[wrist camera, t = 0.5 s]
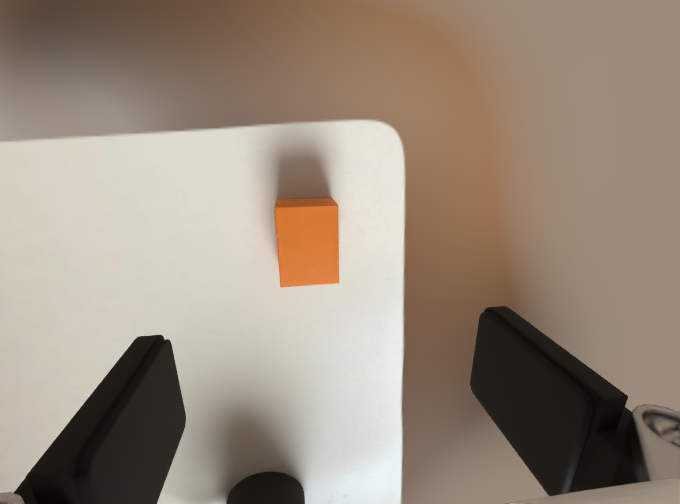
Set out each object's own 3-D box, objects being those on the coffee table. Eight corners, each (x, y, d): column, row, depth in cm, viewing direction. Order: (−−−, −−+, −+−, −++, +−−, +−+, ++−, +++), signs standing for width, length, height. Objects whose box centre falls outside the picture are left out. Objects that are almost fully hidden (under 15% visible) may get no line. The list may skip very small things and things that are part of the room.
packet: (281, 269, 27) (280, 287, 24) (276, 199, 25) (274, 207, 22) (333, 266, 28) (339, 283, 24) (331, 197, 26) (338, 205, 23)
